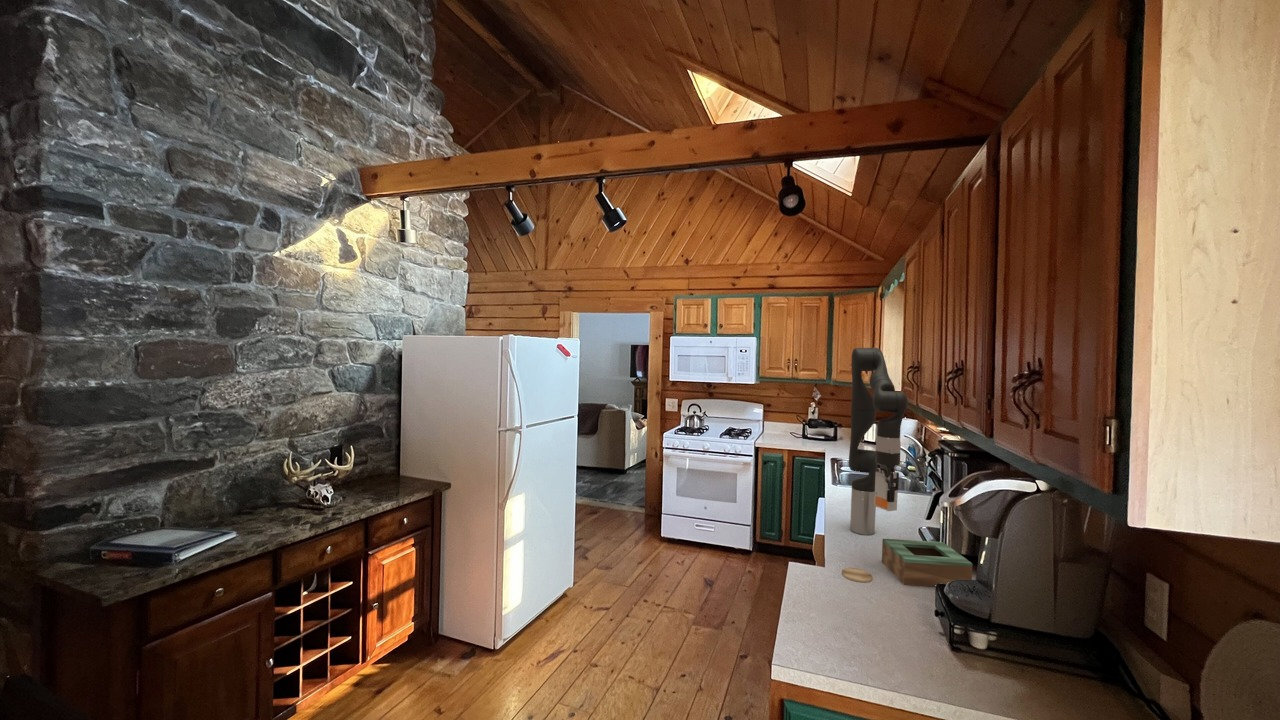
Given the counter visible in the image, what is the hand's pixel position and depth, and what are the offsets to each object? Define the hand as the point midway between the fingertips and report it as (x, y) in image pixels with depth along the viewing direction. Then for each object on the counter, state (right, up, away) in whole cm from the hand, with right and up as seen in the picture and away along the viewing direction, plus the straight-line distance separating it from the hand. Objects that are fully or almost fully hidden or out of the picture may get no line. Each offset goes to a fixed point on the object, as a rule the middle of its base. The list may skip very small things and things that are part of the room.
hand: (886, 498), depth 173 cm
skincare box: (0, -4, 0) cm, 4 cm away
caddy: (+10, -23, -6) cm, 26 cm away
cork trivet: (-14, -23, -9) cm, 28 cm away
